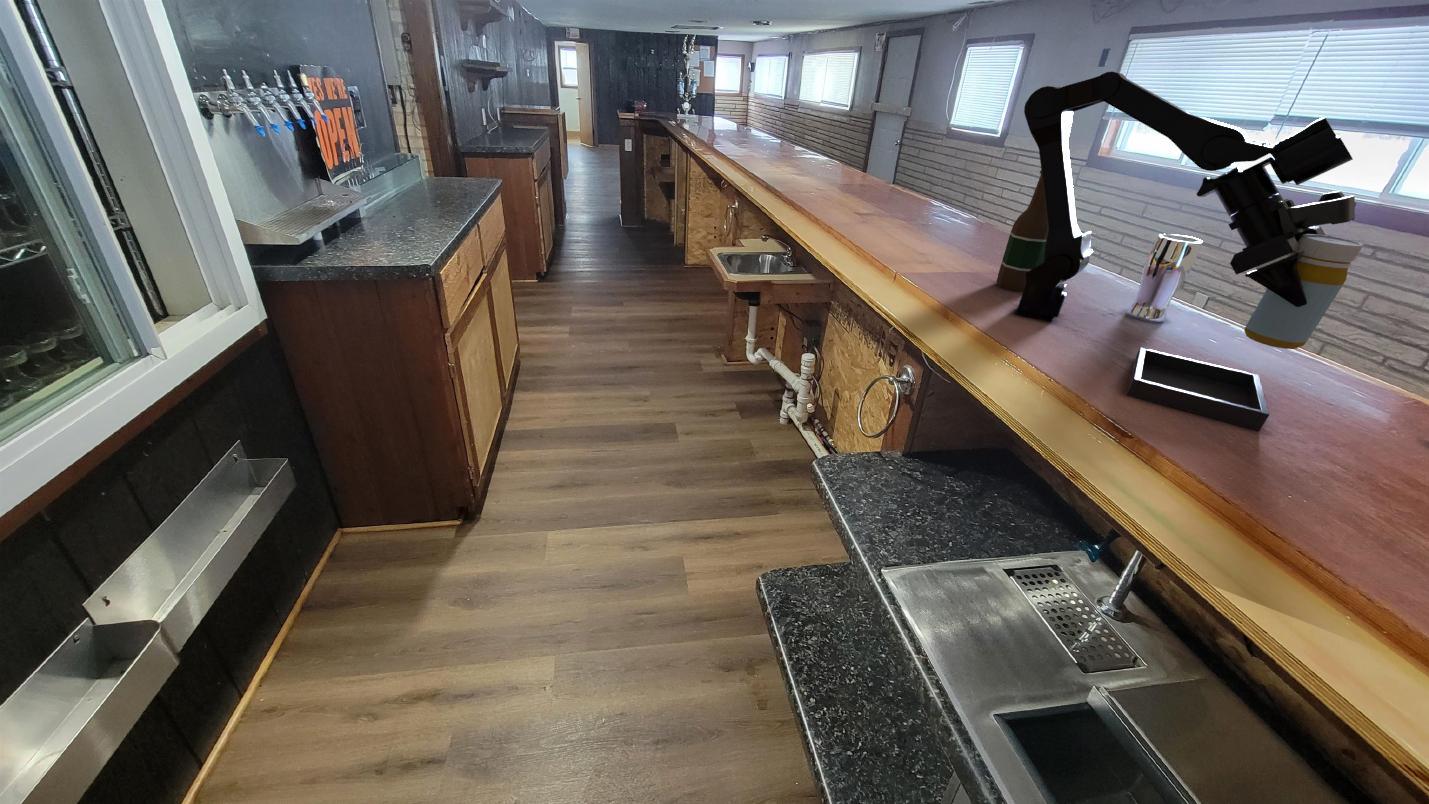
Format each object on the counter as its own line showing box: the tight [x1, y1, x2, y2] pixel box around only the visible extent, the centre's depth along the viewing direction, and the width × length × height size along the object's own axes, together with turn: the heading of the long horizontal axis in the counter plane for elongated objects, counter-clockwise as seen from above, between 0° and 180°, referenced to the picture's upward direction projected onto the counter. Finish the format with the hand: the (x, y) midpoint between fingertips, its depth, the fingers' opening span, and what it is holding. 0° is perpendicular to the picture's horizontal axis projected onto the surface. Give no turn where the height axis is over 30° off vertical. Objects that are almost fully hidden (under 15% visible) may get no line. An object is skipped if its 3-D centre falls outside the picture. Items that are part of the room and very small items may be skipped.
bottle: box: [1243, 234, 1364, 350], centre depth 80 cm, size 7×7×15 cm
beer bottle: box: [996, 170, 1048, 293], centre depth 116 cm, size 8×8×24 cm
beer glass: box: [1126, 233, 1204, 323], centre depth 105 cm, size 7×7×15 cm
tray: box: [1126, 346, 1270, 432], centre depth 80 cm, size 15×15×2 cm
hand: (1308, 301), depth 80 cm, fingers closed on bottle, 6 cm apart
